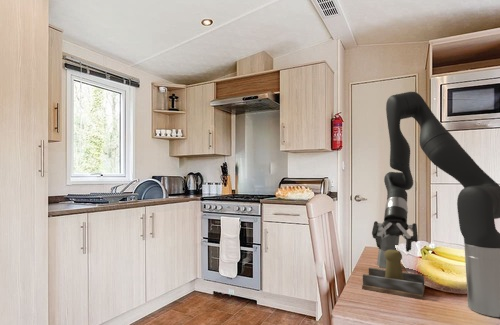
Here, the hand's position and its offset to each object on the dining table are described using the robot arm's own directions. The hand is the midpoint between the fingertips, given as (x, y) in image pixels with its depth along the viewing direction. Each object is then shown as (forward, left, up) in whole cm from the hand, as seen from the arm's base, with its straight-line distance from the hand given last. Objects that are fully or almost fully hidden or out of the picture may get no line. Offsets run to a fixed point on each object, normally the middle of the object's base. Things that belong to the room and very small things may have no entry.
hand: (393, 248), depth 100 cm
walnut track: (0, +2, -12) cm, 12 cm away
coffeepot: (+6, -25, -12) cm, 28 cm away
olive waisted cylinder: (0, +2, -11) cm, 11 cm away
